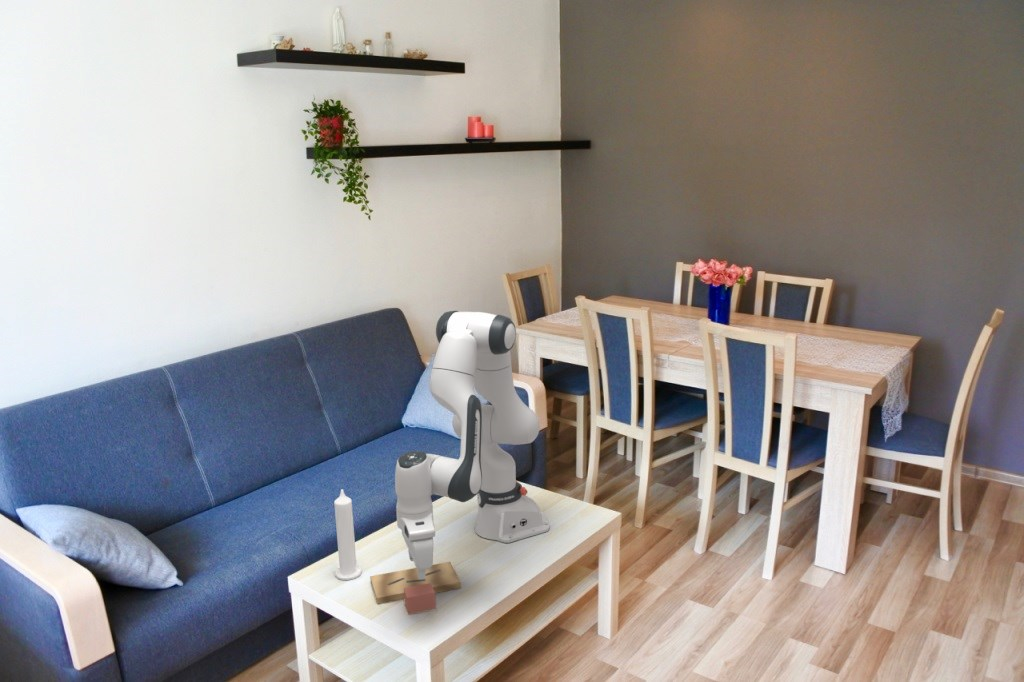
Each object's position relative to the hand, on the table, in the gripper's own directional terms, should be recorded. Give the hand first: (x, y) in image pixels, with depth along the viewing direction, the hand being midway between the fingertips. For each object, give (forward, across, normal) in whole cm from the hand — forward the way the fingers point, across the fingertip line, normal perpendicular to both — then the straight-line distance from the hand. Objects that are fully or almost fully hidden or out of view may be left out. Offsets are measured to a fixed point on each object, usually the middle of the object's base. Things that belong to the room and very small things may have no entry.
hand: (417, 568), depth 202 cm
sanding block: (+11, -1, 0) cm, 11 cm away
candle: (+11, -23, -15) cm, 30 cm away
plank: (+11, -11, +1) cm, 16 cm away
